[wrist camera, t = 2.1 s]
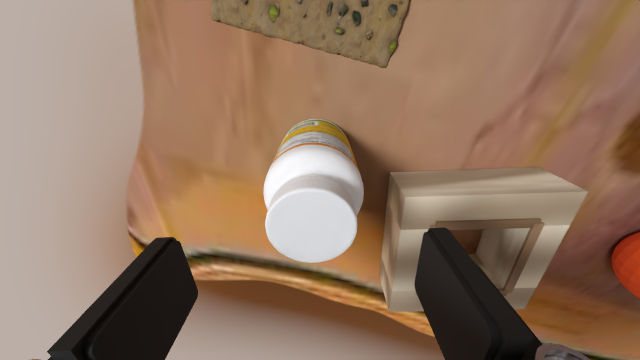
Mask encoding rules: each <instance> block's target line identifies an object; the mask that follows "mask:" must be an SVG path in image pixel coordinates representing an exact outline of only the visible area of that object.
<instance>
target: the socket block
mask: <svg viewBox="0 0 640 360" xmlns="http://www.w3.org/2000/svg"><path fill="white" fill-rule="evenodd" d="M587 193H588V191H586V190H584V189H582V188H580V187H578V186H576V185H574V184H572V183H570V182H568V181H566V180H564V179H562V178H560V177H558V176H555V175H553V174H551V173H549V172H547V171H545V170H543V169H541V168H539V167H531V168H501V169H471V170H442V171H412V172H390V177H389V187H388V197H387V206H386V216H385V226H384V236H383V245H382V255H381V265H380V275H379V276H380V280H381V284H382V287H383V291H384V295H385V299H386V302H387V306H388V310H389V312H403V311H424V310H423V307H422V305H421V303H420V300H419V298H418V296H417V293H416V291H415V285H414V283H415V277H416V271H417V266H418V260H419V255H420V249H421V244H422V238H423V234H424V232H428V229H429V228H442V227H445V228H447V229H448V230H479V229H484V230H483V232H482V235H481V238H480V241H479V244H478V247H477V250H476V253H475V254H468V255H469V256H470V257H471V259H472V260H473V261H474V262H475V264H477V265H478V266H479V267H480V268H481V269H482V270H483V272H484V273H485V274H486V275H487V277H488V278H489V279H490V280H491V281H492V283H493V284H494V285H495V286H496V288H497V289H498V290H499V291H500V293H501V294H502V295H503V296H504V298H505V299H506V300H507V301H508V302H509V304H510V305H511V306H512V307H513V309H525V308H526V306H527V304H528V302H529V300H530V298H531V297H532V295H533V293H534V291H535V289H536V287H537V286H538V284H539V282H540V280H541V278H542V276H543V274H544V273H545V271H546V269H547V267H548V265H549V263H550V261H551V260H552V258H553V256H554V254H555V252H556V250H557V248H558V247H559V245H560V243H561V241H562V239H563V237H564V235H565V234H566V232H567V230H568V228H569V226H570V224H571V223H572V221H573V219H574V217H575V215H576V213H577V211H578V210H579V208H580V206H581V204H582V202H583V200H584V198H585V197H586V195H587Z"/></svg>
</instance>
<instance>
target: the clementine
mask: <svg viewBox="0 0 640 360" xmlns="http://www.w3.org/2000/svg"><path fill="white" fill-rule="evenodd" d="M611 262H612V267H613V270H614V273H615V275H616V276H617V278H618V279H619V281H620V283H621V284H622V285H624V286H625V287H626V288H627V289H628V290H629V291H630V292H631V293H632V294H634V295H635V296H636V297H638V298H639V299H640V232H639V233H635V234H632V235H630V236H628V237H626V238H625V239H623V240H622V241H621V242H619V243H618V245H617V246H616V247H615V249H614V251H613V254H612V259H611Z"/></svg>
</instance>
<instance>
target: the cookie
mask: <svg viewBox="0 0 640 360" xmlns="http://www.w3.org/2000/svg"><path fill="white" fill-rule="evenodd" d="M409 1H410V0H211V19H212V20H213V21H217V22H222V23H224V24H227V25H231V26H234V27H237V28H241V29H244V30H248V31H252V32H256V33H260V34H262V35H265V36H268V37H272V38H280V39H283V40H286V41H291V42H293V43H296V44H302V45H305V46H308V47H311V48H314V49H318V50H323V51H325V52H327V53H332V54H338V55H342V56H344V57H348V58H351V59H353V60H359V61H362V62H365V63H369V64H374V65H377V66H379V67H381V68H386V67H387V65H388V62H389V59H390V56H391V55H392V53H393V51H394V50H395V48H396V46H397V37H398V34H399V32H400V29H401V27H402V23H403V19H404V17H405V15H406V13H407V10H408V6H409Z"/></svg>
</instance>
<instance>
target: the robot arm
mask: <svg viewBox="0 0 640 360" xmlns="http://www.w3.org/2000/svg"><path fill="white" fill-rule="evenodd" d="M414 285H415V291H416V293H417V296H418V298H419V300H420V303H421V305H422V307H423V310H424V312H425V314H426V316H427V319H428V321H429V323H430V326H431V328H432V330H433V333H434V335H435V337H436V339H437V342H438V344H439V346H440V349H441V351H442V353H443V356H444V358H445V360H590V359H589V358H587V357H586V356H584V355H582V354H580V353H579V352H577V351H575V350H573V349H570V348H568V347H565V346H563V345H558V344H552V343H549V344H542V343H541V342H540V341H539V340H538V338H537V337H536V336H535V335H534V333H533V332H532V331H531V330H530V328H529V327H528V326H527V325H526V323H525V322H524V321H523V320H522V319H521V317H520V316H519V315H518V314H517V312H516V311H515V310H514V309H513V307H512V306H511V305H510V304H509V302H508V301H507V300H506V299H505V298H504V296H503V295H502V294H501V293H500V291H499V290H498V289H497V288H496V286H495V285H494V284H493V283H492V281H491V280H490V279H489V278H488V277H487V275H486V274H485V273H484V272H483V270H482V269H481V268H480V267H479V266H478V265H477V264H475V262H474V261H473V260H472V259H471V257H470V256H469V255H468V254H467V252H466V251H465V250H464V249H463V247H462V246H461V245H460V244H459V242H458V241H457V240H456V239H455V237H454V236H453V235H452V234H451V232H450V231H449V230H448V229H447V228H445V227H442V228H429V229H428V232H424V234H423V238H422V244H421V249H420V255H419V260H418V266H417V271H416V277H415V283H414ZM197 296H198V289H197V286H196V284H195V281H194V278H193V276H192V273H191V270H190V268H189V265H188V262H187V259H186V257H185V254H184V251H183V249H182V246H181V243H180V242H179V241H177V240H176V239H175V238H173V237H165V238H156V239H154V240H153V241H152V242H151V243H150V244H149V245H148V246H147V247H146V248H145V250H144V251H143V252H142V253H141V254H140V255H139V256H138V257H137V258H136V259H135V260H134V261H133V262H132V263H131V264H130V265H129V266H128V267H127V268H126V269H125V271H124V272H123V273H122V274H121V275H120V276H119V277H118V278H117V279H116V280H115V281H114V282H113V283H112V284H111V285H110V286H109V287H108V288H107V289H106V290H105V291H104V293H103V294H102V295H101V296H100V297H99V298H98V299H97V300H96V301H95V302H94V303H93V304H92V305H91V306H90V307H89V308H88V309H87V310H86V311H85V312H84V314H82V316H81V317H80V318H79V319H78V320H77V321H76V322H75V323H74V324H73V325H72V326H71V327H70V328H69V329H68V330H67V331H66V332H65V333H64V334H63V336H62V337H61V338H60V339H59V340H58V341H57V342H56V343H55V344H54V345H53V346H52V347H51V348H50V349H49V350H48V351H47V352H48V353H49V354H50V355H51V357H50V358H49V359H48V360H165V358H166V356H167V355H168V353H169V351H170V348H171V347H172V345H173V343H174V341H175V339H176V337H177V335H178V334H179V332H180V330H181V328H182V326H183V324H184V322H185V320H186V318H187V316H188V315H189V313H190V311H191V309H192V307H193V305H194V303H195V301H196V299H197ZM32 360H39V359H32Z"/></svg>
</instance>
